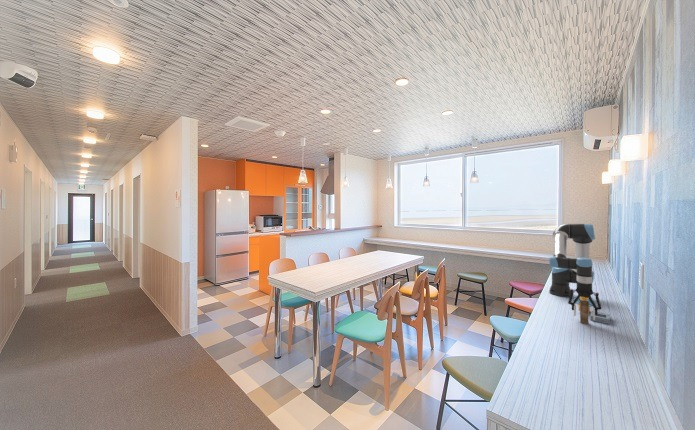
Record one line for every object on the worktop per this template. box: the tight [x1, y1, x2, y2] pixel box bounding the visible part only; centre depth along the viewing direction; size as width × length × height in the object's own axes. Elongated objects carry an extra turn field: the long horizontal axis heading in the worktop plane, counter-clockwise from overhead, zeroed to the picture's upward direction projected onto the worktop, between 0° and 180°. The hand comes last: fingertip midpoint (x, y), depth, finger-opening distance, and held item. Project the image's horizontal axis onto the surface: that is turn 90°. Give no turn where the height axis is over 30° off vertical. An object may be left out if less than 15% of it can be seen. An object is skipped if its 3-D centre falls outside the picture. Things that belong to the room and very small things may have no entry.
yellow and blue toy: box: [572, 296, 597, 313], centre depth 194 cm, size 12×10×15 cm
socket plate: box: [590, 310, 611, 325], centre depth 179 cm, size 12×9×3 cm
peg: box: [579, 300, 590, 325], centre depth 175 cm, size 4×4×14 cm
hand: (584, 317), depth 175 cm, fingers open, 9 cm apart
